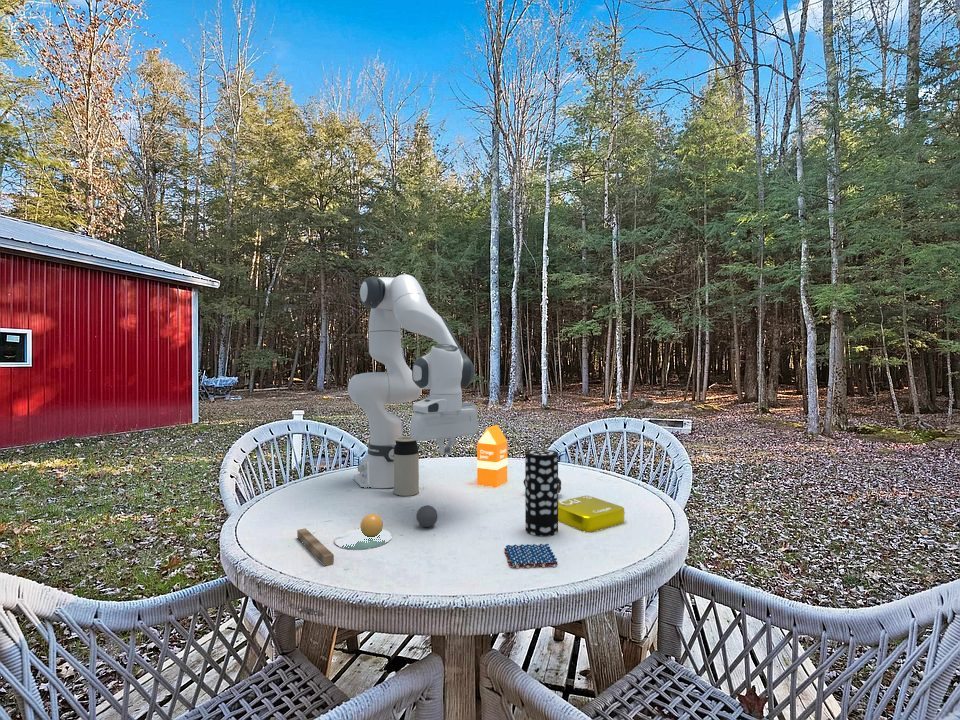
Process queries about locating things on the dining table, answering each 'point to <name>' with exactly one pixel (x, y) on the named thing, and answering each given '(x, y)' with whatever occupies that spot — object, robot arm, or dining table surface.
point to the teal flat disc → (365, 544)
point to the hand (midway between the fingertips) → (445, 453)
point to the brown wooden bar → (315, 547)
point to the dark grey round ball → (427, 516)
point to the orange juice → (492, 458)
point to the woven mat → (530, 556)
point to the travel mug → (406, 466)
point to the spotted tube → (541, 492)
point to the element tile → (589, 513)
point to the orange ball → (371, 525)
